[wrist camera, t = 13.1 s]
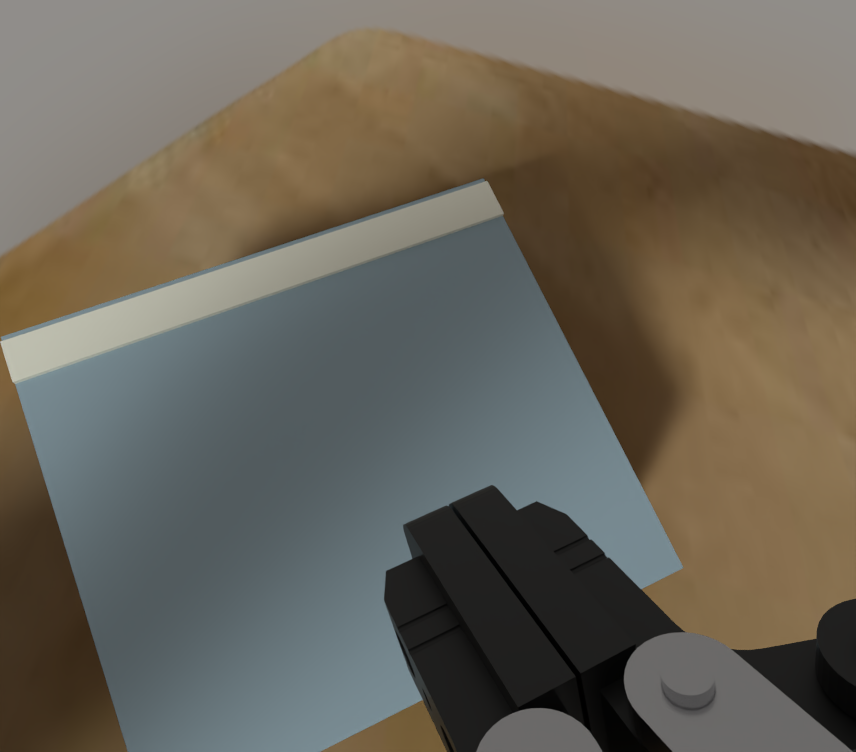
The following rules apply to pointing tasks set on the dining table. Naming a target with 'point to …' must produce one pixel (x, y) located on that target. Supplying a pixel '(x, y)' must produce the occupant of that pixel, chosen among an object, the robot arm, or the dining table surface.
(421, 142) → the dining table surface
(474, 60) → the dining table surface
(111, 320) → the lid
